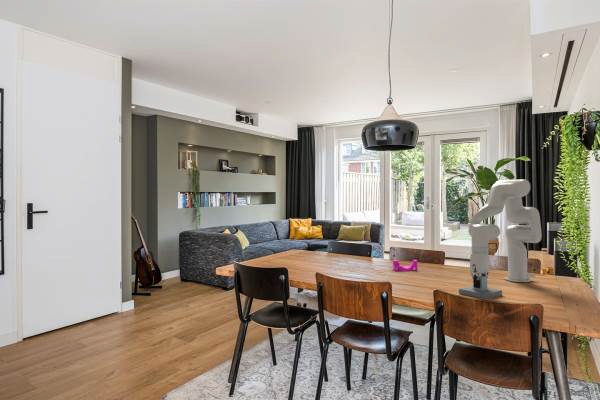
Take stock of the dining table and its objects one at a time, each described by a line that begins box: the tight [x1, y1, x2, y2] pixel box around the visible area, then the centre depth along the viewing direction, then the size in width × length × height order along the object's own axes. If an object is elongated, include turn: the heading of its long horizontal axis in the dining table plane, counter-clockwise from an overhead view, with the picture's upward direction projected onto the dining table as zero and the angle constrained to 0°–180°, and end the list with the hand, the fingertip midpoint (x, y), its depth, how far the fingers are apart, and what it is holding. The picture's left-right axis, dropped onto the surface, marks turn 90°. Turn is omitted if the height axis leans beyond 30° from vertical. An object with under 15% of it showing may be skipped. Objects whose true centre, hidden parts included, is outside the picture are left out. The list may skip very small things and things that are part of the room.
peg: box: [473, 274, 488, 291], centre depth 183 cm, size 4×4×9 cm
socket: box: [458, 285, 503, 300], centre depth 183 cm, size 14×14×2 cm
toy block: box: [392, 259, 418, 272], centre depth 244 cm, size 15×6×8 cm, turn 85°
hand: (480, 286), depth 183 cm, fingers open, 5 cm apart
